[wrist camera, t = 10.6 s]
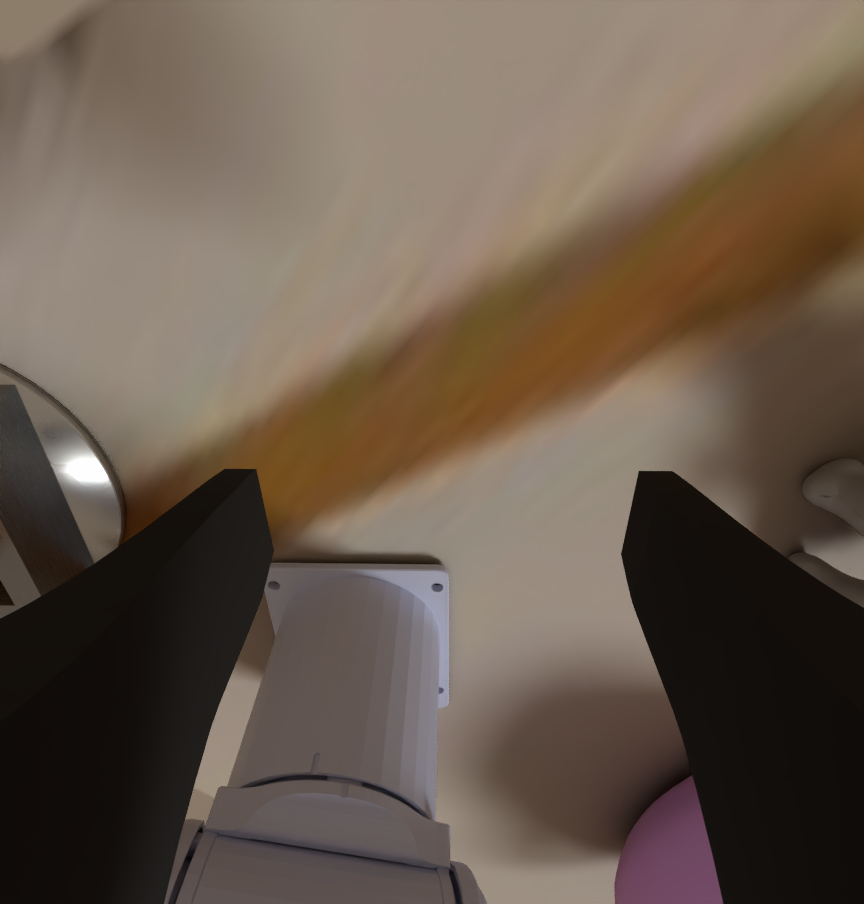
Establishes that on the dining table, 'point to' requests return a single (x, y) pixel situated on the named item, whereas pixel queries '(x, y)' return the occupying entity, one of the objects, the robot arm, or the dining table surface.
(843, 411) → the dining table surface
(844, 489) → the gray elephant figurine
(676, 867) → the teapot
